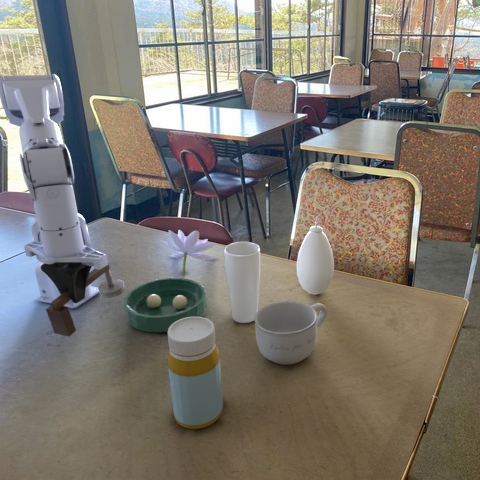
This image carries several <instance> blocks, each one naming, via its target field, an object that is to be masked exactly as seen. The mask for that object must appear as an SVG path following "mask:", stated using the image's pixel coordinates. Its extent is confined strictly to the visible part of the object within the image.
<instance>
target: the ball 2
mask: <svg viewBox="0 0 480 480" xmlns="http://www.w3.org/2000/svg"><path fill="white" fill-rule="evenodd" d="M186 305H187V299H186V297H184V296H182V295H178V296H176V297H175V298H174V299H173V306H174V307H175V308H176V309H183V308H185V307H186Z"/></svg>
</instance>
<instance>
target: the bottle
mask: <svg viewBox="0 0 480 480" xmlns="http://www.w3.org/2000/svg"><path fill="white" fill-rule="evenodd" d="M167 341H168V342H167V343H168V347H169V350H168V351H169V354H168V357H167V368H168V369H167V370H168V379H169V385H170V392H171V402H172V410H173V416H174V420H175V422H176V423H177V424H178V425H179V426H181V427H183V428H185V429H189V430H201V429H205V428H208V427H209V426H212V425H213V424H214V423H215V422H216V421H217V420H218V419H220V417H221V415H222V414H223V410H224V400H223V386H222V372H221V371H222V370H221V359H220V358H221V356H220V351H219V349H218V346H217V345H216V331H215V325H214V323H213V321H211V319H209V318H207V317H203V316H202V317H186V318H183V319H180V320H178V321H176V322H174V323H173V324H172V325H171V326H170V327H169V329H168V331H167Z"/></svg>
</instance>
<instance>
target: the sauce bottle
mask: <svg viewBox="0 0 480 480" xmlns="http://www.w3.org/2000/svg"><path fill="white" fill-rule="evenodd" d="M318 224H319V223H318V215H316V216H315V222H314V225H313V226H310V227H309V231H308V232H307V234H306V235H305V236H304V238H303V240H302V243H301V245H300V248H299V250H298V254H297V260H296V275H297V278H298V279H297V280H298V282H299V285H300V286H301V288H302V289H303V291H305V292H307V293H308V294H310V295H314V296H317V295H320V294H322V293H323V292H325V291H326V290H327V289H328V287H329V285H330V284H331V282H332V279H333V276H334V272H335V271H334V270H335V259H334V252H333V249H332V246H331V243H330V240H329V239H328V237H327V235H326V233H325V232H324V230H323V227H322V226H320V225H318Z"/></svg>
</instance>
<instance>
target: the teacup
mask: <svg viewBox="0 0 480 480" xmlns="http://www.w3.org/2000/svg"><path fill="white" fill-rule="evenodd" d="M327 309H328V308H327V307H326V306H325V305H324V304H323V303H321V302H317V303H313V304H312V305H309V304H307V303H303V302H300V301H295V300H284V301H276V302H272V303H269V304H266V305H265V306H263V307H261V308H260V309H258V312H257V313H256V315H255V317H254V321H253V322H254V325H255V334H256V343H257V347H258V350H259V351H260V353H261V355H262V356H263V357H264V358H266V359H267V360H269V361H271V362H273V363H275V364H278V365H286V366H288V365H294V364H297V363H300V362H301V361H303V360H305V359H306V358H308V357H309V356H311V354H312V353H313V352H314V350H315V348H316V345H317V340H318V329H319V328H320V327H321V325H322V324H324V322H325V320H326V318H327V315H328V310H327ZM318 311H319V314H318V313H317V312H318Z"/></svg>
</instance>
